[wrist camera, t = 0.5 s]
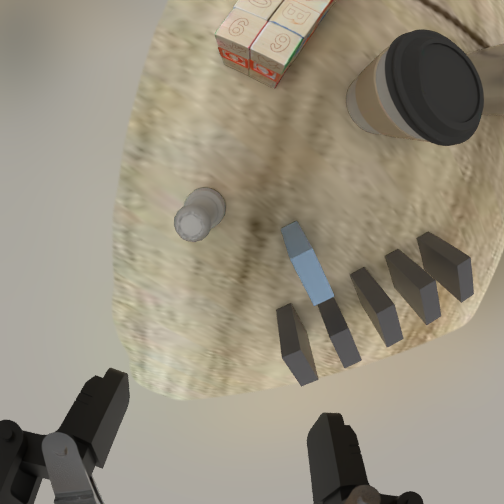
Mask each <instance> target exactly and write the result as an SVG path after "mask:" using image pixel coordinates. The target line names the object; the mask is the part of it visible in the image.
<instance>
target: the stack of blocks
mask: <svg viewBox="0 0 504 504" xmlns="http://www.w3.org/2000/svg"><path fill="white" fill-rule="evenodd" d="M335 1H336V0H238V1H237V3H236V4H235V5H234V7H233V10H232V11H231V12H230V13H229V15H228V16H227V17H226V19H225V20H224V21H223V22H222V24H221V25H220V27H219V28H218V29H217V31H216V32H215V37H216V40H217V43H218V49H219V52H220V55H221V56H222V59H223V62H224V64H225V65H227V66H229V67H231V68H233V69H236V70H238V71H240V72H242V73H244V74H246V75H248V76H250V77H252V78H254V79H256V80H257V81H259V82H261V83H263V84H265V85H268V86H270V87H272V88H275V87H276V86H277V84H278V82H279V81H280V79H281V78H282V76H283V75H284V73H285V71H286V70H287V68H288V67H290V65H291V64H292V62H293V61H294V60H295V58H296V57H297V55H298V54H299V52H300V51H301V49H302V47H303V46H304V45H305V44H306V42H307V41H308V39H309V38H310V36H311V35H312V34H313V32H314V31H315V29H316V27H317V26H318V24H319V23H320V21H321V20H322V19H323V18H324V16H325V15H326V13H327V12H328V11H329V9H330V8H331V7H332V5H333V4H334V3H335Z"/></svg>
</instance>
